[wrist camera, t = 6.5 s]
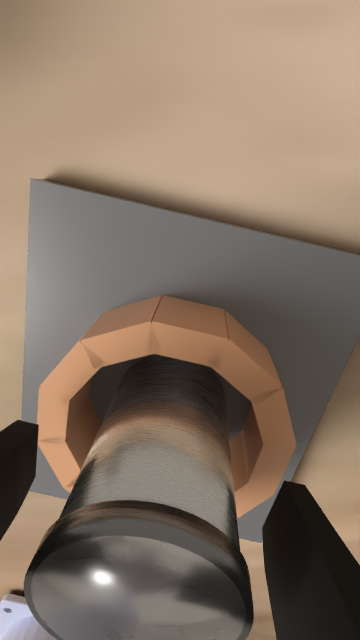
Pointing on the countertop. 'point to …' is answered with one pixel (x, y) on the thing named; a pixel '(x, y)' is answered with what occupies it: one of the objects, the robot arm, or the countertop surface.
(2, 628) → the robot arm
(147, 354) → the duct flange
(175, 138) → the countertop surface
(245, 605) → the silver metal cylinder
